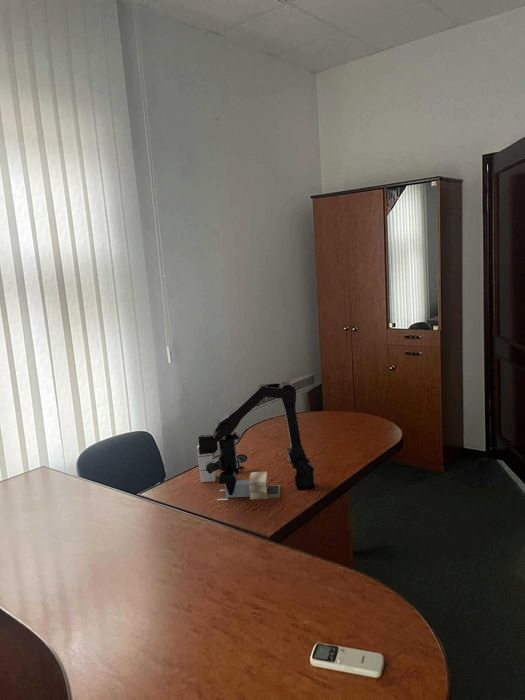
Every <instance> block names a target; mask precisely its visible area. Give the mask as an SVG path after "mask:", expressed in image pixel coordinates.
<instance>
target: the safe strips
mask: <svg viewBox="0 0 525 700" xmlns="http://www.w3.org/2000/svg"><path fill="white" fill-rule="evenodd" d="M219 492H225V489H219ZM216 501H218V502H219V501H229V498H217V499H216Z"/></svg>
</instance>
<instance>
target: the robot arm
mask: <svg viewBox="0 0 525 700" xmlns="http://www.w3.org/2000/svg"><path fill="white" fill-rule="evenodd" d="M265 398H275V399H280V400H281V402H282V403H281V404H282V405H283V408H284V414H285V419H286V426H287V431H288V432H287V433H288V437H289V444H290V445H289V447H286V448H285V450H286V451H287V459H288V462H289V464H290V465H292V467H293V469H295V471H296V472H295V473H294V483H295V487H296V490H297V491H302V490H315V488H316V486H315V479H314V477H315V476H314V471H315V468H314V466H313V464H312V462H311V460H310V459H308V457H307V455H306V453H305V449H304V446H303V445H302V441H301V435H300V434H301V433H300V429H299V423H298V416H297V411H296V403H297V390H296V388H295V387H294V385H293V384H292V383H291V382H290V381H287V380H285V381H282V382H280V383H261V384H259V385H258V386H257V388H256V389H255V390H254V391H253V392H251V393H250V394H249V395H247V397H246V398H245V399H244V400H243V401H242V402H241V403H240V404H238V405H237V406H236V407H235V408H234V409H232V410H230V411H228V412H227V413H225V414H224V415H222V416H220V417H219V418H218V419H217V426H216V428H215V429H214V430H213V434H205V435H204V434H202V435H201V434H199V435H198V445H199V454H200V455H203V454H212V453H214V454H215V453H217V451H218V450H219V456H218V457H216V458H215V459H213V460H210V461H208V462H207V463H206V465H205V467H206V471H208V473H209V474H211V473H212V472H214V471H216V472H217V471H220V474H218V477H217V481H218V484H220V485H223V484H224V486H225V485H226V487H227V490H228V492H229V495H233V491H234V488H235V485H236V481H237V480H238V475H239V472H240V471H239V469H240V467H239V466H240V465H241V463H240V459H239V458H238V457H236V456H237V455H238V454H237V453H238V452H237V450H236V441H237V440H240V439H241V437H240V434H239V433H237V432H236V431H235V429H237V427H238V426H239V424H240V422H241V421H242V419H243V418H244V417H245V416H246V415H247V414H248V413H250V411H252V410H253V409H254V408H256V406H257V405H258V404H259V403H260V402H262V401H263V399H265ZM218 444H219V446H218ZM218 447H219V448H218ZM237 466H238V468H237Z"/></svg>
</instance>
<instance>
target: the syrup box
mask: <svg viewBox="0 0 525 700" xmlns="http://www.w3.org/2000/svg"><path fill="white" fill-rule="evenodd" d="M196 451H197V459H198V470H199V471H198V472H199V478H200V483H210V482H211V483H212V482H216V479H217V470H216V471H214V472H212V473H211V474H209V473H208V471H206V467H205V465H206V463H207V462H208V461H210V460H213V459H215V453H212V454H203V455H200V454H199V444H198V445H197V447H196Z"/></svg>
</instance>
